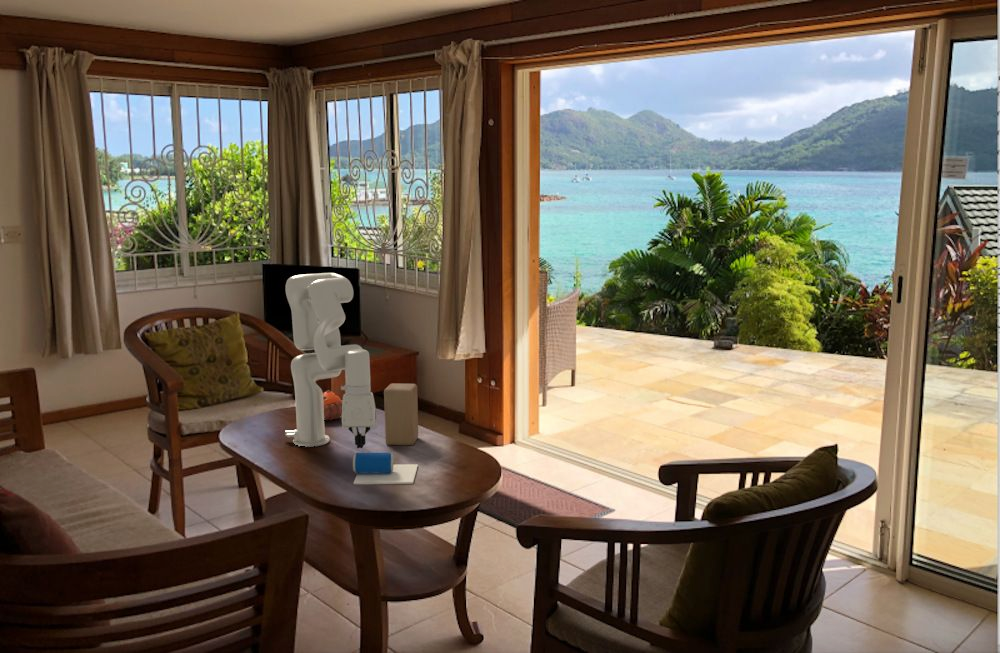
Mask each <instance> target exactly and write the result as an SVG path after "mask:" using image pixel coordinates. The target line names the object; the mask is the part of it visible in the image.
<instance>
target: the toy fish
mask: <svg viewBox="0 0 1000 653" xmlns="http://www.w3.org/2000/svg"><path fill="white" fill-rule="evenodd" d="M342 401H343V399H341V398H340V396H338V395H337V393H335V392H333V391H332V390H329V389H328V390H326V391H324V392H323V402H324V420H326V421H334V420H333V419H335V420H337V419H338V418H341V417H342Z"/></svg>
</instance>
